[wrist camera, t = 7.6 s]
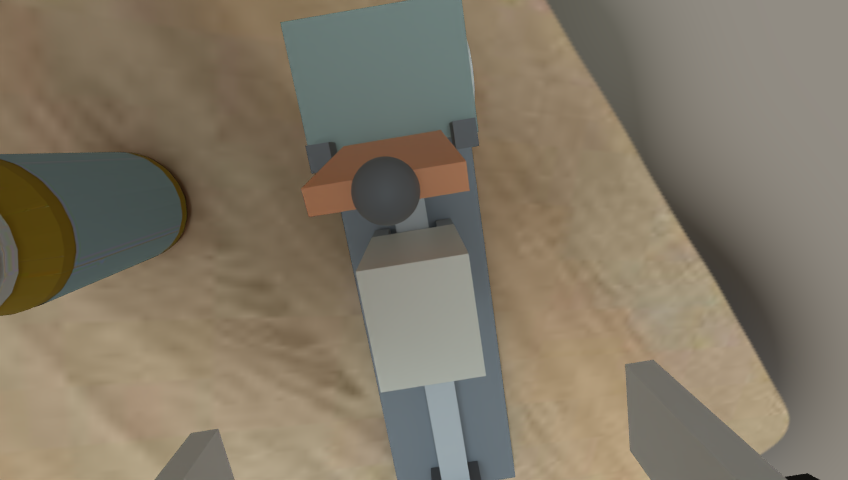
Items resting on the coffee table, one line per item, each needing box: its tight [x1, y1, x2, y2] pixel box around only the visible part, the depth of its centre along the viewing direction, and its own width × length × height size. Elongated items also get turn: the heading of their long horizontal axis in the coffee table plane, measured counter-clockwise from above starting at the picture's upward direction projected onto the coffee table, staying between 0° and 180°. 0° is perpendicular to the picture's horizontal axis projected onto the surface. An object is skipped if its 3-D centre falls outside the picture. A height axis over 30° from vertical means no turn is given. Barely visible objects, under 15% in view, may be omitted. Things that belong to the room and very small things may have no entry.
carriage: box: [356, 218, 486, 393], centre depth 23 cm, size 6×5×9 cm
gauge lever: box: [301, 130, 470, 226], centre depth 14 cm, size 2×4×9 cm, turn 100°
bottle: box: [0, 152, 187, 316], centre depth 20 cm, size 7×7×15 cm
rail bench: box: [280, 0, 515, 480], centre depth 25 cm, size 32×9×10 cm, turn 9°
